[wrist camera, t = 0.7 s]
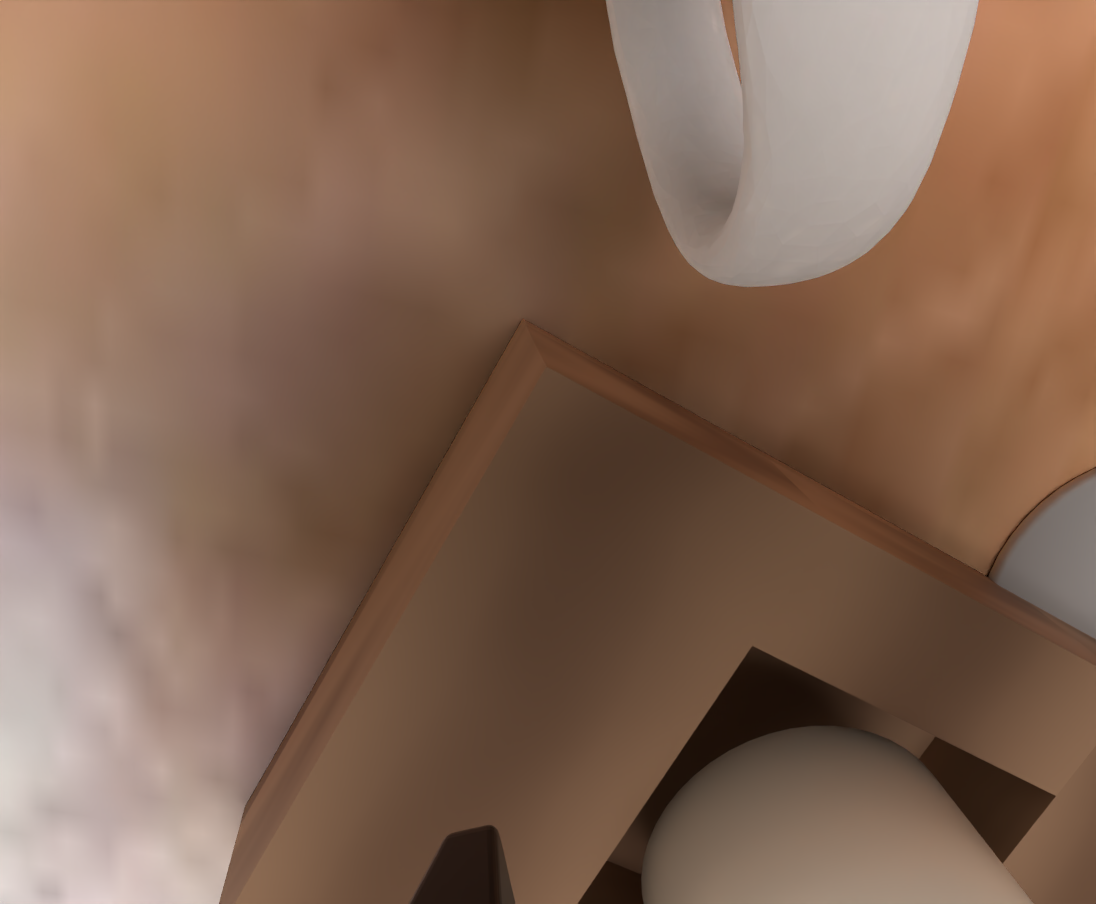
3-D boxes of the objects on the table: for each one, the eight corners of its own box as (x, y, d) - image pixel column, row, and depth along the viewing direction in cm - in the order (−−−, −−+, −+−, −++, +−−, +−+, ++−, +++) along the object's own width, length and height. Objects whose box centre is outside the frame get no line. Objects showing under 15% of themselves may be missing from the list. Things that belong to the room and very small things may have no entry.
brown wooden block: (1193, 691, 23) (1341, 799, 20) (897, 1059, 26) (978, 1218, 22) (523, 318, 19) (546, 366, 15) (245, 806, 21) (205, 953, 18)
